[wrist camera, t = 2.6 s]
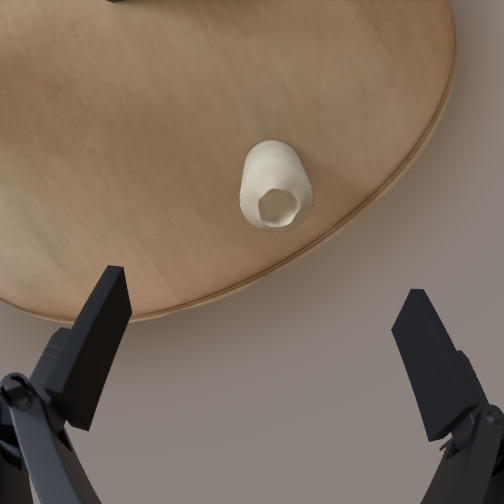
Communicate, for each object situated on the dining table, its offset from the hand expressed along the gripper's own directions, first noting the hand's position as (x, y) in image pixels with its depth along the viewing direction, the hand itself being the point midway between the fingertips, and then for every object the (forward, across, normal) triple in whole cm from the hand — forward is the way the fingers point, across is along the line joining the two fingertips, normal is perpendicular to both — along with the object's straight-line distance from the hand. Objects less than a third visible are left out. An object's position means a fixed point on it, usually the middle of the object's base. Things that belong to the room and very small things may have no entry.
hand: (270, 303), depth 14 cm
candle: (+20, +1, 0) cm, 20 cm away
